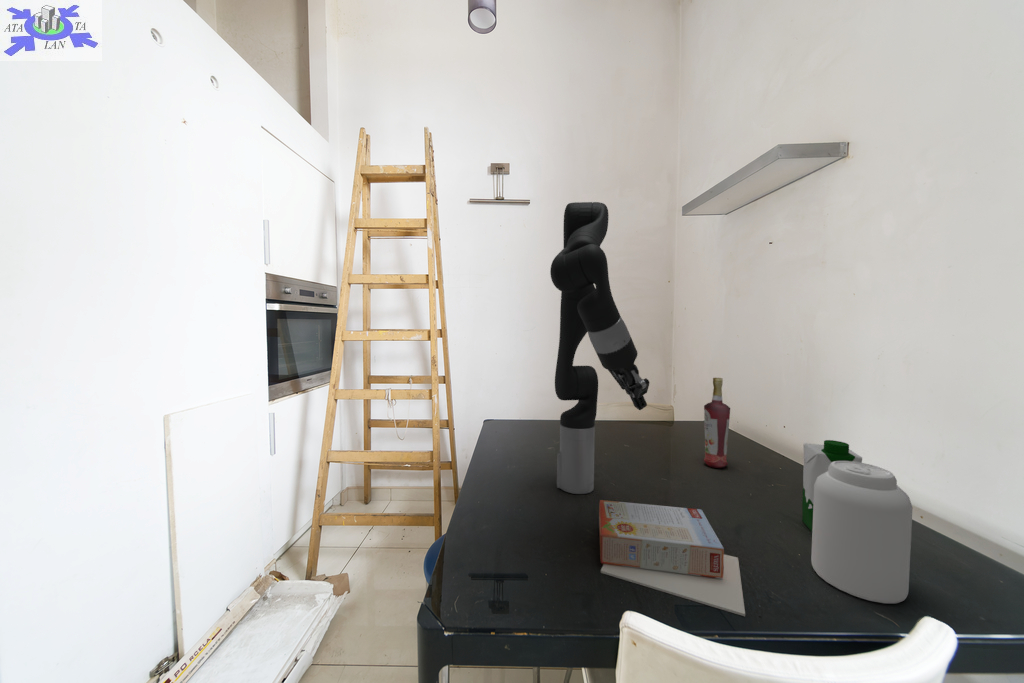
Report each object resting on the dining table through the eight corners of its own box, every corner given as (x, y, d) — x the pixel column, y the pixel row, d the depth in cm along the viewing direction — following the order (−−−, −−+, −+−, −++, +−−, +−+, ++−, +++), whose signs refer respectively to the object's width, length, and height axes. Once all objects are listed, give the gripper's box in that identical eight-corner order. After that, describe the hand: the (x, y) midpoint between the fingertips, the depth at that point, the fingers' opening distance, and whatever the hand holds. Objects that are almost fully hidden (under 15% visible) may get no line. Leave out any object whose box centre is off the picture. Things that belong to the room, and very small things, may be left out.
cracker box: (599, 565, 70) (724, 581, 65) (599, 533, 70) (725, 547, 65) (599, 525, 84) (702, 536, 79) (599, 498, 83) (703, 507, 79)
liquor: (733, 470, 118) (736, 379, 117) (709, 469, 118) (712, 379, 117) (720, 461, 125) (723, 376, 124) (698, 461, 125) (700, 376, 124)
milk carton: (812, 538, 80) (815, 443, 79) (795, 518, 88) (799, 432, 87) (864, 546, 77) (868, 448, 76) (842, 524, 85) (846, 436, 85)
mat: (600, 572, 68) (600, 570, 68) (619, 530, 82) (619, 528, 82) (745, 616, 58) (745, 614, 58) (737, 559, 72) (737, 557, 72)
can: (888, 616, 58) (895, 487, 57) (796, 570, 69) (800, 461, 68) (921, 591, 64) (927, 473, 63) (831, 551, 75) (835, 451, 74)
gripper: (646, 339, 71) (675, 410, 77) (610, 325, 83) (637, 386, 89) (613, 360, 70) (645, 430, 76) (581, 343, 83) (611, 404, 88)
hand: (641, 406), depth 83 cm, fingers closed
